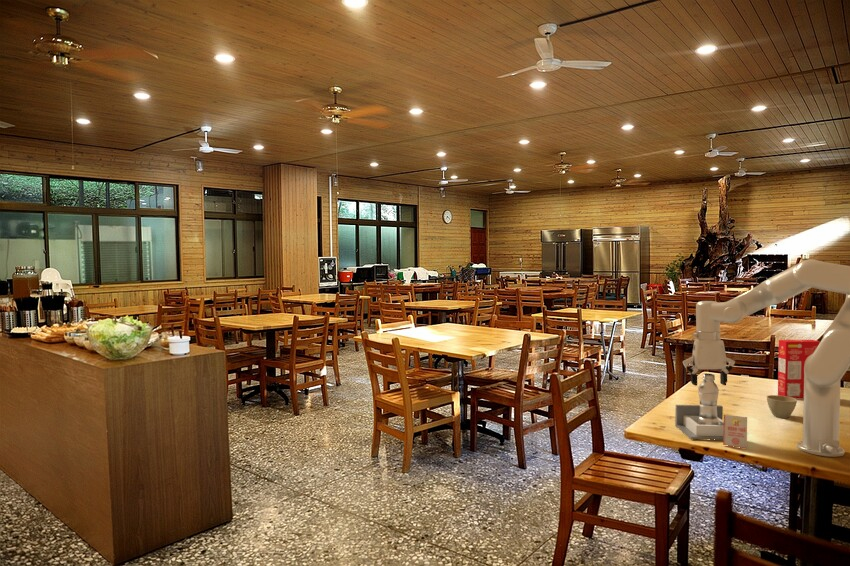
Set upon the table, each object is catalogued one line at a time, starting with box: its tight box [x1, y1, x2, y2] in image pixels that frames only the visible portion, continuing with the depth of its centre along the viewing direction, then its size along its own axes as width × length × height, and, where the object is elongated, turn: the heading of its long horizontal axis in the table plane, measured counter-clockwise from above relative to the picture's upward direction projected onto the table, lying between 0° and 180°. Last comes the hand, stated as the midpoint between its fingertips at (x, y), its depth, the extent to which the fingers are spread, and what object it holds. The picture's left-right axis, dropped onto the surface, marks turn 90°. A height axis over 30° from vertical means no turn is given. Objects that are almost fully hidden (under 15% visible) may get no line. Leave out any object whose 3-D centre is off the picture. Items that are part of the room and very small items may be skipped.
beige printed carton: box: [722, 414, 748, 449], centre depth 189 cm, size 4×7×10 cm, turn 61°
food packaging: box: [777, 339, 821, 398], centre depth 252 cm, size 15×5×25 cm, turn 89°
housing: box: [674, 404, 724, 441], centre depth 202 cm, size 16×16×8 cm
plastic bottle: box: [697, 373, 720, 425], centre depth 202 cm, size 6×7×20 cm
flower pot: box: [766, 394, 798, 419], centre depth 222 cm, size 10×10×7 cm
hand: (708, 384), depth 201 cm, fingers open, 9 cm apart
